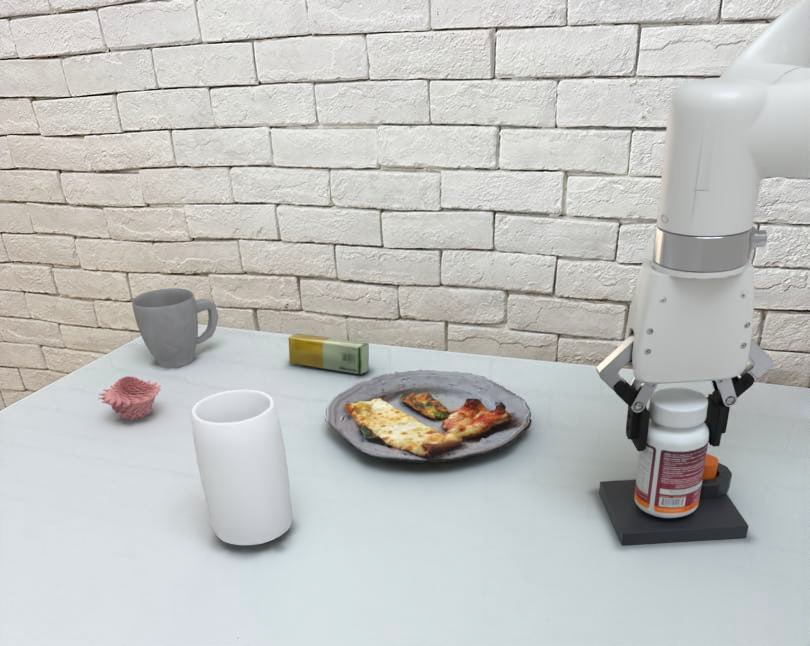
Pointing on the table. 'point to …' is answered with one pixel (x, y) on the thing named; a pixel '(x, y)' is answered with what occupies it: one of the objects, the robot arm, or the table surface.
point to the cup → (242, 466)
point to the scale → (705, 523)
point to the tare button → (710, 467)
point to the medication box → (329, 353)
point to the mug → (172, 324)
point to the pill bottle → (673, 454)
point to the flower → (131, 397)
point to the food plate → (428, 416)
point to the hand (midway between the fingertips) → (673, 440)
